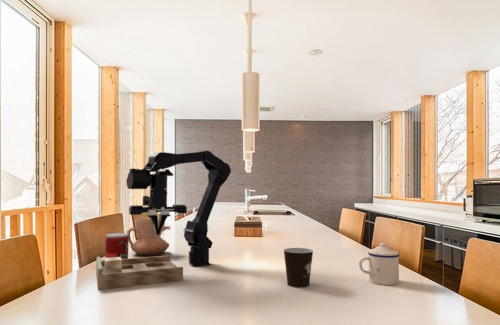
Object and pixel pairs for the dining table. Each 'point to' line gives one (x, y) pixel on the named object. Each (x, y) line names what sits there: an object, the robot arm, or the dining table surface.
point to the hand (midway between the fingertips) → (157, 234)
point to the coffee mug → (298, 266)
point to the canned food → (116, 245)
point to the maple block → (113, 265)
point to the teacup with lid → (382, 265)
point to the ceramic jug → (148, 238)
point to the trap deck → (139, 272)
